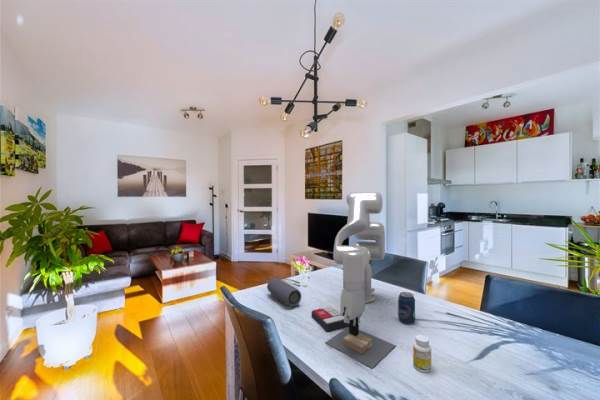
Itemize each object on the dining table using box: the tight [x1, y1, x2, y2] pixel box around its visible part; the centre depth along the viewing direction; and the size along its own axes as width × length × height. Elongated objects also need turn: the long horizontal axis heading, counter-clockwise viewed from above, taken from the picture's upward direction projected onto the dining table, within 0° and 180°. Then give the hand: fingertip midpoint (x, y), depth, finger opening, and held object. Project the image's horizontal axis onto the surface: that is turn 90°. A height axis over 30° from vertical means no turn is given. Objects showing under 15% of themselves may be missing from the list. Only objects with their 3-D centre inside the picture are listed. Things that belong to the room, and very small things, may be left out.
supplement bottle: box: [412, 334, 432, 373], centre depth 81 cm, size 5×5×10 cm
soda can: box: [397, 291, 416, 325], centre depth 110 cm, size 7×7×12 cm
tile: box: [343, 333, 372, 354], centre depth 92 cm, size 3×8×7 cm
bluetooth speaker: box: [266, 277, 302, 307], centre depth 133 cm, size 23×9×10 cm, turn 34°
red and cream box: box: [311, 305, 349, 333], centre depth 111 cm, size 11×4×15 cm
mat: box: [325, 327, 397, 370], centre depth 93 cm, size 17×20×1 cm
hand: (353, 334), depth 90 cm, fingers closed
